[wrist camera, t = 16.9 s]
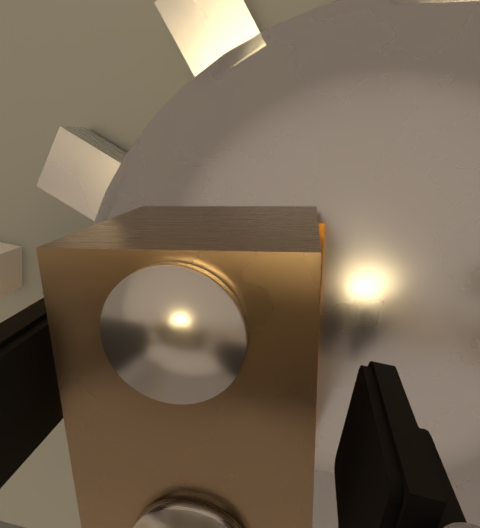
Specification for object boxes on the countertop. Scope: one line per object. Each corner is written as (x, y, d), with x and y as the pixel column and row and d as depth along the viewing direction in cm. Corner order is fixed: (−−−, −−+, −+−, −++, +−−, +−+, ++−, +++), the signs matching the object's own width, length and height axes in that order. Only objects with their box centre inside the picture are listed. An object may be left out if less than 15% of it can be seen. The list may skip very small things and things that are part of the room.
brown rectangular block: (316, 206, 11) (321, 257, 6) (309, 451, 14) (309, 632, 9) (142, 206, 12) (25, 251, 7) (162, 437, 14) (83, 596, 9)
